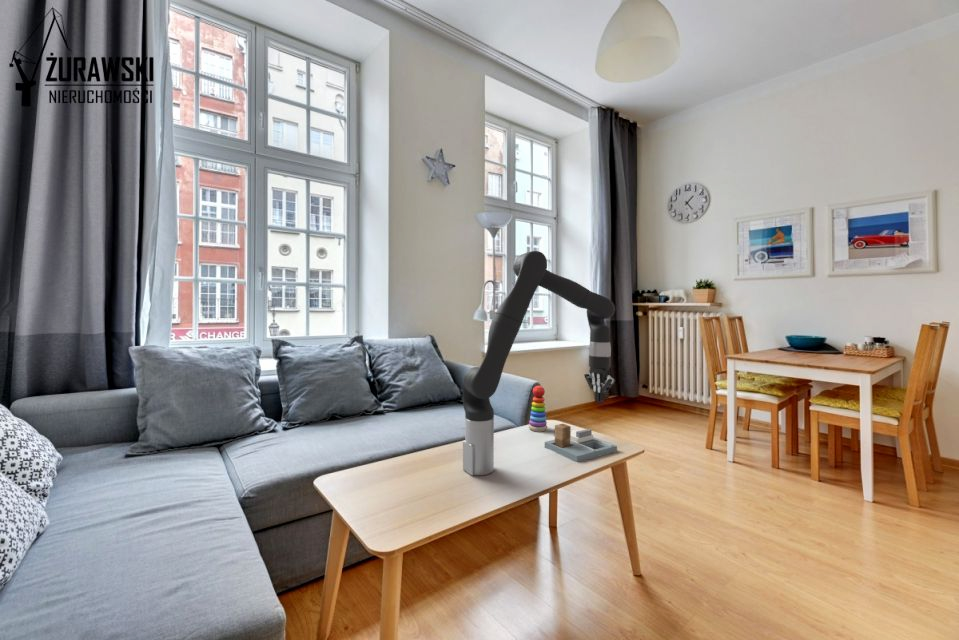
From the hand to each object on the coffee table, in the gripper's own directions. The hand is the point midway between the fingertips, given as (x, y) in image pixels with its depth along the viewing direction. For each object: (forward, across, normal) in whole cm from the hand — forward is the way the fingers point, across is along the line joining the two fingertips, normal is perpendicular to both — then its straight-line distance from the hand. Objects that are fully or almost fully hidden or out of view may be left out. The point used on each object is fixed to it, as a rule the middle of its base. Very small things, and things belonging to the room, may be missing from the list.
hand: (598, 402), depth 148 cm
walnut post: (+19, -9, -9) cm, 23 cm away
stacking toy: (+19, -33, -1) cm, 38 cm away
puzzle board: (+19, -6, -3) cm, 20 cm away
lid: (+16, -10, 0) cm, 19 cm away
